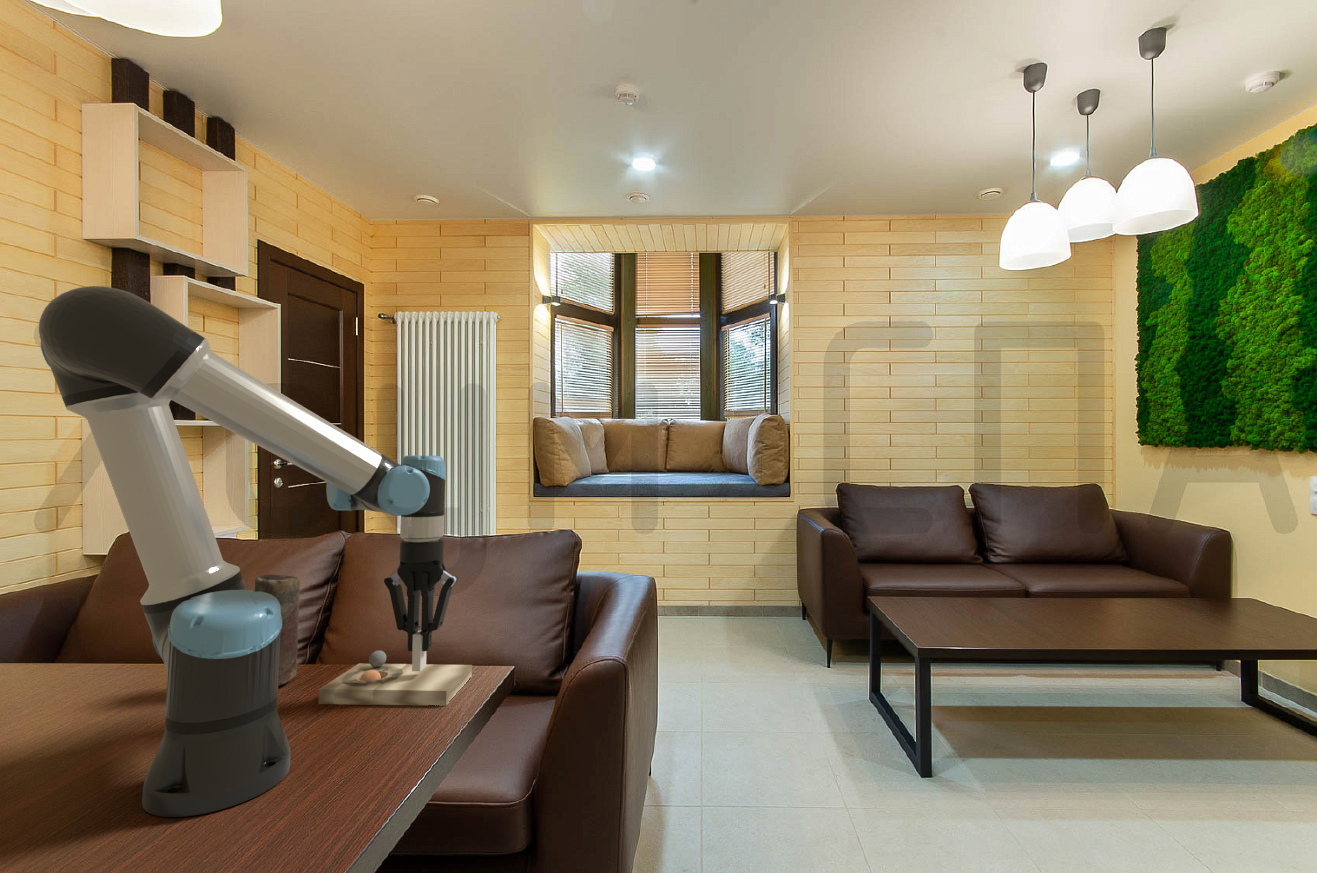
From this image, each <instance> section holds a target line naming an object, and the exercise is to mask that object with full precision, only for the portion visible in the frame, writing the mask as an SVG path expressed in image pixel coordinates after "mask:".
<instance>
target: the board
mask: <svg viewBox="0 0 1317 873" xmlns="http://www.w3.org/2000/svg"><path fill="white" fill-rule="evenodd" d="M368 670H376V671H378V672H379V673H380V675H381V679H379V680H373V681H361V680H360V678H361V676H362V675H363V673H365V672H366V671H368ZM472 672H473V665H472V664H433V663H431V664H430V663H429V664H427V663H426V667H425V668H423V669H422V670H421V671H412V663H384V664H383V665H382V666H380V667H373V666H371V665H370V663H363V662H362V663H360V662H359V663H357V664H356V665H354V666H353V667H351V668H350V669H348V670H346V671H345V672H343V673H342V674H340V675H339V676H338V677H336V678H334V679H333V680H331V681H329V682H327V684H324V685H323V686H322V687H320V688H319V689H318V705H357V706H359V705H365V706H369V705H370V706H372V705H373V706H378V705H379V706H428V705H435V706H436V705H437V707H439V706H440V707H441V706H443V707H445V706H448V704H449V703H450V702H451V701H452V700H453V699H454V698H455V697H456V696H457V695H456V693H457V692H458V691H459V690H460V689H461V688H462V687H463V686H464V684H466V682H467V681H468V680H469V678H470V677H472V676H473V673H472ZM472 678H473V677H472ZM469 681H470V680H469ZM466 685H467V684H466ZM464 687H465V686H464ZM464 687H463V688H464ZM463 688H462V689H463ZM462 689H461V690H462ZM461 690H460V691H461ZM460 691H459V692H460ZM459 692H458V693H459ZM458 693H457V694H458ZM455 695H456V696H455ZM454 696H455V697H454ZM453 697H454V698H453ZM452 698H453V699H452ZM451 699H452V700H451ZM450 700H451V701H450ZM449 701H450V702H449ZM438 705H439V706H438Z"/></svg>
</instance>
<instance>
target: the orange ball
mask: <svg viewBox="0 0 1317 873" xmlns="http://www.w3.org/2000/svg"><path fill="white" fill-rule="evenodd" d="M379 679H381V675H380V673H379V672H378V671H376V670H368V671H366V672H365V673H363V675H362V676H361V678H360V680H361V681H373V680H379Z"/></svg>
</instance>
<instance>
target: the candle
mask: <svg viewBox="0 0 1317 873" xmlns="http://www.w3.org/2000/svg"><path fill="white" fill-rule="evenodd" d="M300 582H301V581H300V578H299V577H298V576H296V575H286V574H284V575H280V574H262V575H257V576H256V577H255V579H254V592H259V591H261V592H265V593H268V594H271V595H272V596H274V597H275V598H276V599H277V600H278V601H279V603H280V607H281V616H282V629H281V632H280V654H279V676H278V687H279V686H281V685H284V684H286V683H288V682H290V681H291V680H292V679H293V678H294V677H296V676H297V674H298V673H297V671H298V670H297V669H298V644H299V642H298V641H299V640H298V638H299V613H300V611H299V608H300V588H301V587H300V585H301V584H300Z"/></svg>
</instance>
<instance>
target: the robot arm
mask: <svg viewBox="0 0 1317 873" xmlns="http://www.w3.org/2000/svg"><path fill="white" fill-rule="evenodd" d="M38 332H39V333H38V335H39V338H40V348H41V353H42V356H43V358H44V360H45V362H46V364H47V366H48V367H50V369H51V373H52V375H53V378H54V381H55V383H56V385H57V389H58V391H59V393H60V396H61V399H62V401H63V404H64V405H65V406H64V407H65V409H66V410H67V411H69V412H72V413H74V414H76V415H78V416H81V417H83V418H84V419H86V420H87V422H88V425H89V428H90V431H91V433H92V436H93V439H94V441H95V444H96V447H97V449H98V452H99V455H100V457H101V461H102V462H103V466H104V468H105V470H106V473H107V476H108V479H109V481H110V483H111V487H112V489H113V492H114V495H115V496H116V500H117V503H118V505H119V508H120V510H121V513H122V517H123V519H124V521H125V523H126V527H127V529H128V532H129V534H130V537H131V539H132V542H133V546H134V547H135V551H136V553H137V556H138V558H139V561H140V563H141V567H142V568H143V571H144V574H145V576H146V579H147V582H148V588H147V589H146V590H145V592H144V594H143V596H142V597H141V598H140V600H139V603H140V605H141V608H142V611H143V613H144V617H145V619H146V621H147V625H148V626H149V629H150V632H151V634H152V638H151V639H152V643H153V646H154V648H155V651H156V653H157V654H158V656H159V657H160V658H161V660H162V662H163V664H164V666H165V669H166V672H167V674H166V676H167V677H166V678H167V679H166V680H167V681H166V697H165V698H166V699H165V718H164V719H165V721H164V722H165V723H164V733H163V737H162V739H161V741H160V743H159V746H158V748H157V750H156V754H155V755H154V757H153V760H152V762H151V764H150V767H149V770H148V772H147V774H146V777H145V779H144V782H143V785H142V786H143V787H142V797H141V798H142V800H141V805H142V809H143V810H144V811H146V812H147V813H149V814H151V815H154V816H158V817H166V818H179V817H181V818H182V817H192V816H197V815H203V814H209V813H212V812H216V811H220V810H223V809H227V808H230V807H233V806H236V805H238V804H241V803H244V802H247V801H249V800H251V799H254V798H256V797H258V796H260V795H262V794H264V793H265V792H268V791H269V790H270V789H272V788H273V787H275V786H277V785H278V784H279V783H280V782H282V780H283V779H285V777H287V775H288V773H289V772H290V768H291V747H290V744H289V741H288V738H287V735H286V733H285V730H284V726H283V725H282V722H281V718H280V716H279V713H278V697H279V696H278V694H279V686H278V676H279V654H280V632H281V629H282V616H281V607H280V603H279V601H278V600H277V599H276V598H275V597H274V596H272V595H271V594H268V593H265V592H261V591H259V592H255V590H252V589H247V586H246V583H245V580H244V577H243V574H242V572H241V568H240V566H238V565H235V564H231V563H230V562H229V563H228V562H227V561H225V560H224V559H223V556H222V553H221V551H220V550H221V549H220V547H219V543H218V540H217V538H216V536H215V533H214V530H213V527H212V524H211V522H210V518H209V516H208V513H207V509H206V507H205V504H204V502H203V499H202V496H201V493H200V491H199V488H198V485H197V482H196V479H195V477H194V473H193V470H192V468H191V465H190V462H189V459H188V456H187V454H186V450H185V448H184V444H183V441H182V440H181V437H180V434H179V430H178V428H177V425H176V422H175V420H174V417H173V414H172V410H171V408H170V403H171V401H173V402H175V403H177V404H179V405H180V406H182V407H184V408H186V409H188V410H190V411H191V412H194V413H196V414H197V415H200V416H201V417H203V418H205V419H207V420H209V421H210V422H213V423H215V424H216V425H218V426H220V427H222V428H224V429H226V430H228V431H230V432H232V433H233V434H235V435H238V436H240V437H241V438H243V439H245V440H247V441H249V442H251V443H253V444H255V445H256V446H257V447H258V446H259V447H260V448H262V449H264V450H265V451H268V452H269V453H272V454H274V455H275V456H277V457H278V458H281V459H283V460H285V461H287V462H288V463H291V464H292V465H295V466H296V467H298V468H300V469H302V470H304V471H306V472H308V473H310V474H312V475H313V476H315V477H318V478H319V479H321V480H323V481H325V482H326V487H325V488H326V499H327V503H328V505H329V507H330V508H331V509H332V510H335V511H348V512H352V511H361V510H362V511H370V512H377V513H383V514H388V515H390V516H393V517H399V516H400V529H399V533H400V534H399V537H400V538H401V539H403V540H401V541H400V542H399V564H398V567H397V569H396V572H395V573H394V574H391V576H388V577H386V578H384V579H383V582H384V584H385V587H386V588H387V589H388V592H389V597H390V601H391V605H392V609H393V615H394V619H395V624H396V628H397V630H398V631H403V632H405V633H406V634H407V650H408V652H411V653H412V654H411V655H412V656H411V657H412V658H411V660H412V661H411V664H412V671H421V670H422V669H423V668H425V667H426V664H427V652H428V651H429V650H430V649H431V648H432V644H433V642H432V638H433V632H434V631H437V630H439V629H440V628H441V627H442V626H443V624H444V621H445V617H446V612H447V609H448V605H449V601H450V597H451V594H452V589H453V587H454V585H456V583H457V581H458V576H457V575H452V574H450V573H449V572H447V571H446V570H447V569H446V565H445V564H444V550H445V549H444V546H445V544H444V543H445V541H444V540H443V538H441V537H443V536H444V535H445V534H444V532H445V496H446V495H445V494H446V492H445V490H446V482H447V479H446V464H445V459H444V458H443V457H441V456H440V455H405V456H403V457H402V460H401V464H400V463H398V462H397V461H395V460H393V459H392V458H390V457H388V456H386V455H384V454H383V453H381V452H380V451H378V450H376V449H375V448H373V447H372V446H369V445H368V444H366V443H365V442H364V441H363V442H362V440H360V439H358V438H356V437H355V436H353V435H352V434H350V433H348V432H346V431H344V430H343V429H342V428H340V427H338V426H336V425H335V424H333V423H332V422H330V421H328V420H326V419H325V418H324V417H321V416H319V415H318V414H317V413H315V412H313V411H311V410H310V409H308V408H306V407H304V406H303V405H302V404H299V403H298V402H296V401H294V400H293V399H291V398H290V397H288V396H286V395H284V394H283V393H281V392H280V391H278V390H276V389H275V388H273V387H272V386H270V385H268V384H266V383H265V382H263V381H261V380H260V379H258V378H256V377H255V376H253V375H251V374H250V373H248V372H246V371H245V370H243V369H241V368H240V367H238V366H236V365H235V364H233V363H232V362H229V361H228V360H226V359H224V358H223V357H221V356H219V355H218V354H217V353H214V352H213V351H212V349H211V347H210V345H209V340H208V339H207V338H205V337H204V336H203V335H200V334H199V333H197V332H196V331H194V330H193V329H191V328H189V327H188V326H186V325H185V324H183V323H182V322H180V321H179V320H177V319H176V318H174V317H173V316H171V315H169V314H167V313H166V312H165V311H163V310H162V309H160V308H159V307H157V306H155V305H154V304H153V303H151V302H149V301H148V300H146V299H144V298H142V297H140V296H138V295H136V294H134V293H133V292H129V291H127V290H124V289H119V288H114V287H110V286H103V285H102V286H99V285H97V286H96V285H93V286H91V285H90V286H82V287H81V286H80V287H78V288H77V287H76V288H73V289H70V290H68V291H65V292H62V293H60V294H59V295H58V296H56V297H54V299H52V300H50V301H49V303H48V304H47V305H46V307H45V308H44V309H43V311H42V313H41V315H40V318H39V322H38ZM441 579H442V580H441ZM440 581H441V585H442V586H441V588H440V592H439V595H438V600H437V604H436V607H435V611H434V598H435V597H434V595H435V590H436V588H435V586H437V585H438V583H439V582H440ZM402 582H403V584H404V585H405V587H406V596H407V606H406V601H405V597H404V596H405V595H404V592H403V588H402ZM420 596H421V597H420ZM420 598H421V599H420ZM420 600H421V619H420ZM420 620H421V622H420ZM419 629H421V630H419Z"/></svg>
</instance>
